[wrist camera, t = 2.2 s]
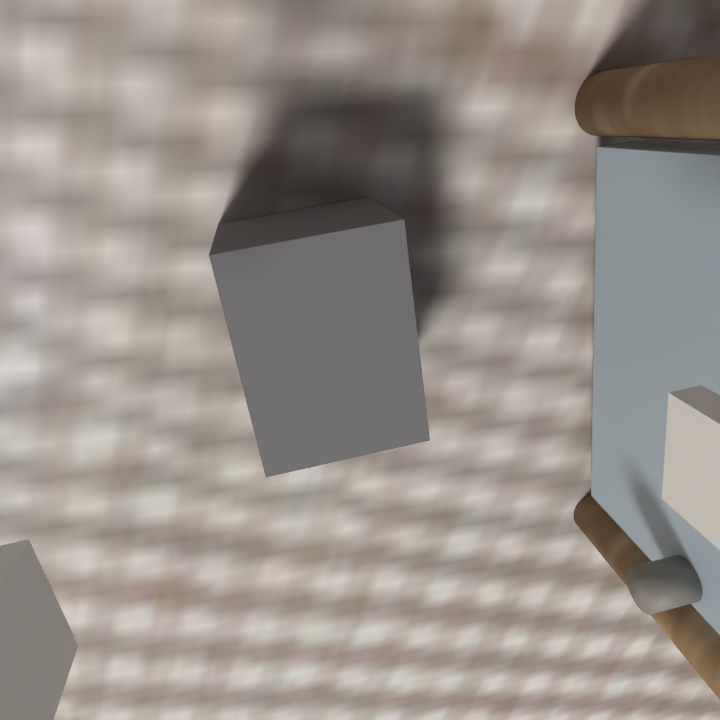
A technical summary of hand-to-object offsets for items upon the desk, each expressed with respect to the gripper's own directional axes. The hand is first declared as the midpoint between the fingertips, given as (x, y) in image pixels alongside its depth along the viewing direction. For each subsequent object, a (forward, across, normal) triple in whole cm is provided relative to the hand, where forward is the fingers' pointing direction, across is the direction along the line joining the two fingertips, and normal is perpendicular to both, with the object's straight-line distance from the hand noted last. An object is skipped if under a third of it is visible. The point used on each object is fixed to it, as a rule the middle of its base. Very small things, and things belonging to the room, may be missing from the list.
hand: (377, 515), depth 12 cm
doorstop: (+14, 0, 0) cm, 14 cm away
